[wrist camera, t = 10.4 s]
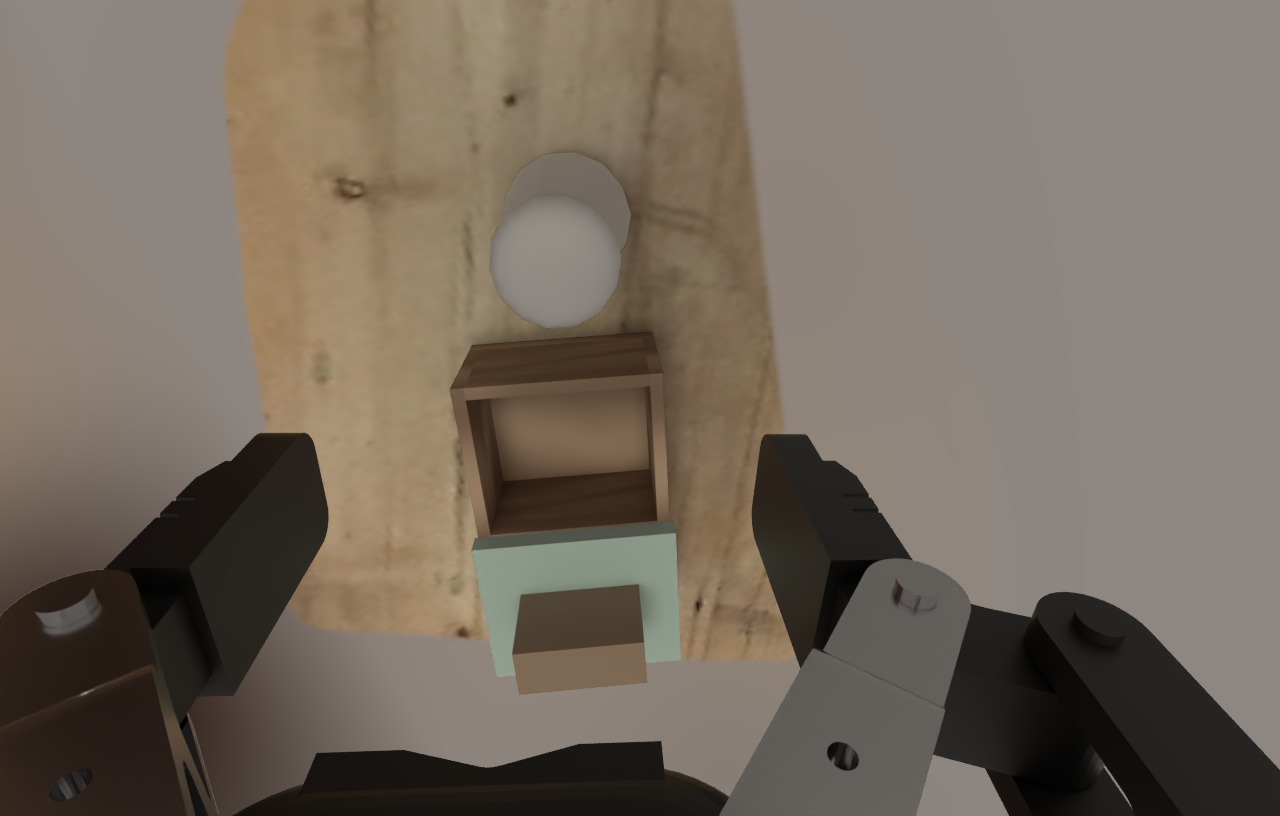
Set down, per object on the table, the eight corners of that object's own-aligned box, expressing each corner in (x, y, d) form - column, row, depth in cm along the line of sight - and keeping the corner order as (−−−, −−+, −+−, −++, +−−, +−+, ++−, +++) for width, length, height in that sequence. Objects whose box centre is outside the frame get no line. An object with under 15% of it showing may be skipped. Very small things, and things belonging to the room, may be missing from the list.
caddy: (472, 345, 35) (449, 389, 29) (651, 332, 35) (662, 372, 29) (514, 591, 42) (503, 663, 36) (664, 577, 42) (675, 647, 36)
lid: (475, 538, 33) (455, 607, 28) (673, 521, 33) (686, 587, 28) (499, 662, 36) (486, 742, 32) (678, 646, 36) (690, 722, 32)
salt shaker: (645, 178, 32) (676, 219, 20) (603, 286, 34) (609, 381, 22) (530, 129, 30) (490, 141, 19) (493, 244, 32) (437, 321, 21)
